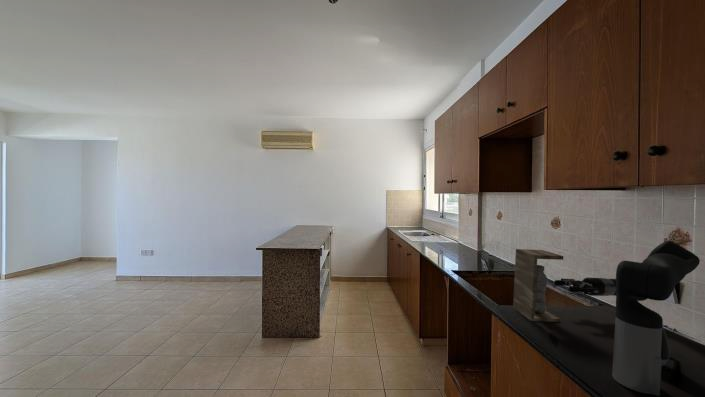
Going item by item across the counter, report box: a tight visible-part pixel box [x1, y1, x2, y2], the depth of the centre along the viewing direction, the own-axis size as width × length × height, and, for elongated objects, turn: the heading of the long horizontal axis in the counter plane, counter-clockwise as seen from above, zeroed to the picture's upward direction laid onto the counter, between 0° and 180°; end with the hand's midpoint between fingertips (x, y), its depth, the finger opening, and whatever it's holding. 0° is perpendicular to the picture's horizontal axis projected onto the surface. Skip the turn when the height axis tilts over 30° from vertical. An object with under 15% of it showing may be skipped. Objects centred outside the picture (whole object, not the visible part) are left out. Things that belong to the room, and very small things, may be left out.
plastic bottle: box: [535, 264, 548, 313], centre depth 127 cm, size 6×7×20 cm
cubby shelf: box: [512, 248, 564, 323], centre depth 127 cm, size 12×13×27 cm
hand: (562, 285), depth 127 cm, fingers open, 8 cm apart
